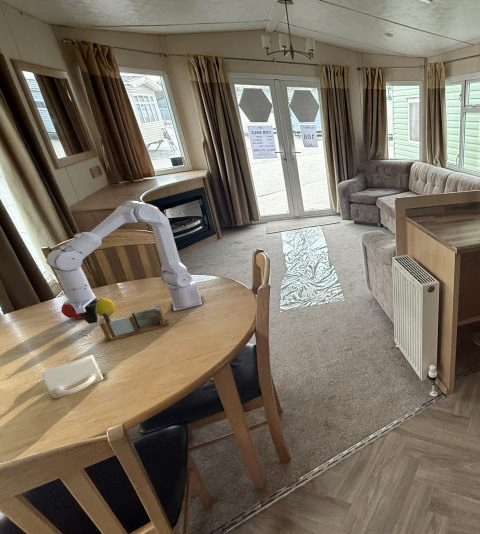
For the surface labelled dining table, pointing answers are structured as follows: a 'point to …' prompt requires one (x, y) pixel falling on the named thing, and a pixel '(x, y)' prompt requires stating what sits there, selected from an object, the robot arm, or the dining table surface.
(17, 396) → the dining table surface
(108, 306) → the lemon
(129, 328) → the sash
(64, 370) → the white box with handle
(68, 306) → the tomato
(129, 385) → the dining table surface
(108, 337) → the window frame
